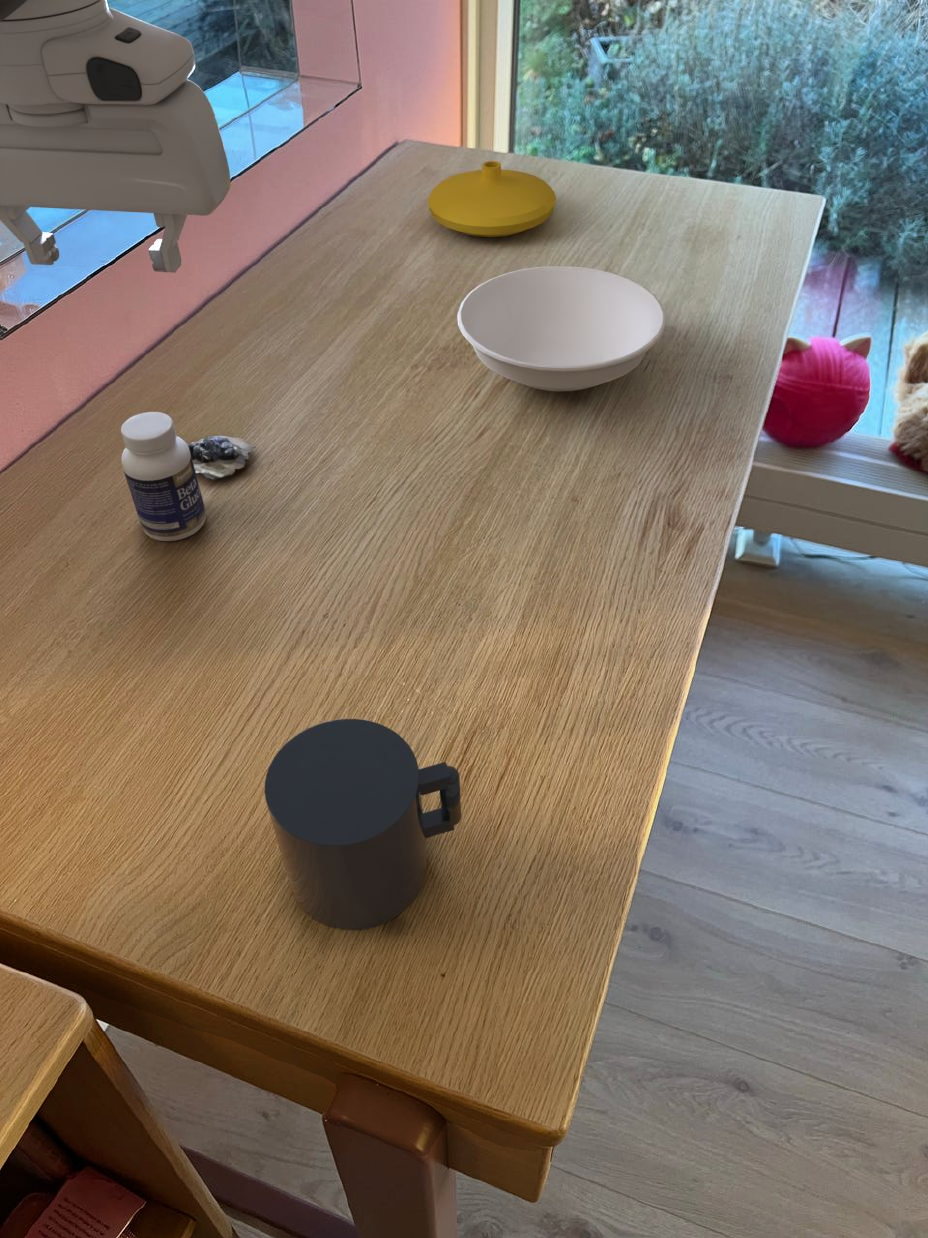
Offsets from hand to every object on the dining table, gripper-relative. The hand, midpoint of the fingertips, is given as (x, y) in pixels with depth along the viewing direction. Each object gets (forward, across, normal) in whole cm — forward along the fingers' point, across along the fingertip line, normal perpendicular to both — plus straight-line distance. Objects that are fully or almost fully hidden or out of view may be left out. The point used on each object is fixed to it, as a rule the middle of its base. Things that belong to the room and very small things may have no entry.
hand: (106, 265), depth 72 cm
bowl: (+21, +31, +24) cm, 45 cm away
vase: (+21, +19, +58) cm, 64 cm away
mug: (+21, +26, -33) cm, 47 cm away
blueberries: (+21, +1, +5) cm, 22 cm away
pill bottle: (+21, +2, -4) cm, 21 cm away
